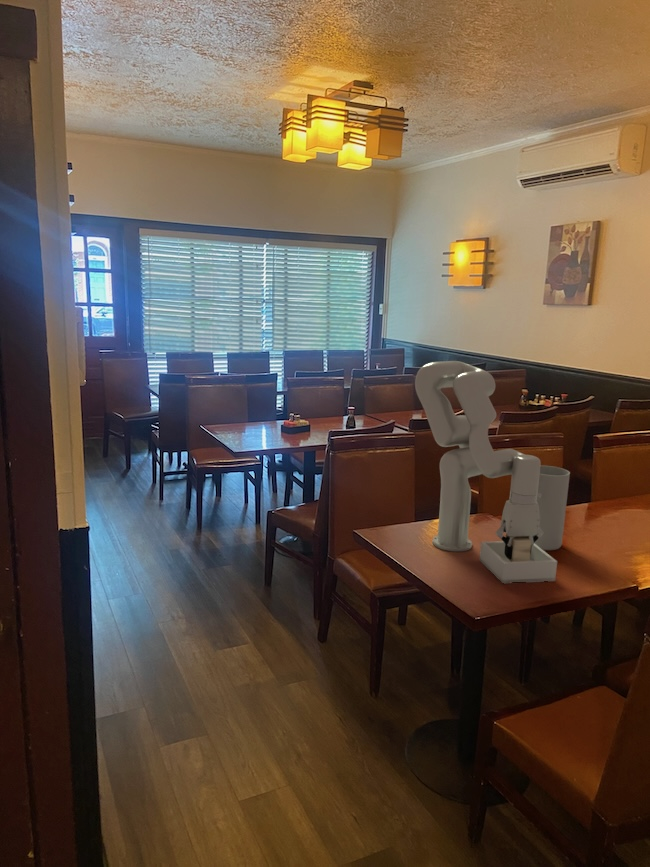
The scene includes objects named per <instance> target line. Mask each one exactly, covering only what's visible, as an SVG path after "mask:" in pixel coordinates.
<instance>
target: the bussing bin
mask: <svg viewBox="0 0 650 867" xmlns="http://www.w3.org/2000/svg"><path fill="white" fill-rule="evenodd" d="M479 552H480V553H479V562H481V564H482V565H483V566H485V568H486V569H487V570H488V571H489V570H490V571H491V572H492V573H493V574H494V575H495V576H496V577H497V578H498V579H499V580H500V581H501V582H502V583H504V584H511V583H510V582H526V583H541V582H543V583H545V582H544V581H548V582H556V576H557V575H556V574H557V568H558V567H557V566H558V560H557V559H555V558H554V557H553V556H551V555H550V554H548V552H546V550H542V549H541V548H540V547H538V546H537V545H536V544H535V543H534V545H533V546H532V548H531V554H530V559H529V561H519V562H511V561H510V560H509V559H507V558H506V557H505V553H504V552H505V543H504V542H503V541H502V540H500V541H499V540H498V541H497V540H495V541H481V542H480V550H479ZM491 572H490V573H491ZM492 573H491V574H492ZM493 574H492V575H493ZM494 575H493V576H494ZM495 576H494V577H495ZM496 577H495V578H496ZM497 578H496V579H497ZM498 579H497V580H498ZM499 580H498V581H499ZM500 581H499V582H500ZM501 582H500V583H501ZM502 583H501V584H502Z"/></svg>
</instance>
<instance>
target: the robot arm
mask: <svg viewBox="0 0 650 867" xmlns="http://www.w3.org/2000/svg"><path fill="white" fill-rule="evenodd" d="M414 386H415V392H416V395H417V397H418V400H419V402H420V403H421V406H422V408H423V410H424V412H425V416H426V419H427V421H428V424H429V427H430V430H431V432H432V436H433V439H434V441H435V442H436V444H437V445H438V446H440V447H443V448H448V447H455V446H456V447H457V446H458V447H459V448H454V449H451V450H449V451H446V452H445V453H444V454H443V455H442V456H441V458H440V461H439V474H440V498H439V501H440V503H439V513H438V514H439V515H438V528H437V529H438V530H437V535H434V537H432V544H433V545H434V546H435V547H436V548H438V549H439V550H440V549H441V550H443V551H449V552H465V551H468V550H470V549H472V546H473V542H472V540H470V539H469V537H468V536H469V526H470V515H471V514H470V513H471V502H472V501H471V500H472V490H471V485H470V483H469V478H472V477H476V476H480V475H483V476H485V477H486V478H489V479H495V478H496V479H497V478H499V477H503V476H509V475H511V480H510V488H509V489H510V490H509V499H508V500H507V499H506V501H505V503H504V507H503V510H502V515H501V516H502V517H501V522H500V526H499V528H498V529H497V530H496V531H495V535H496V536H497V537H498V538H499V539H500V541H503V542H504V543H505V552H504V553H505V556H506V557H507V558H509V559H512V550H513V547H512V542H513V539H514V537H525V536H527V537H528V538H529V539H531V548H532V546H533V545H534V542H535V541H536V540H537V539H538V538H539V537H541V536H542V535H543V534H544V532H543V531H542V529H541V528H540V526H539V519H540V518H539V505H538V503H537V499H538V498H541V494H538V485H539V475H540V466H542V465H541V464H542V463H541V462H542V461H541V459H540V458H539V457H537V456H535V455H531V454H525V453H522V452H520V451H518V450H516V449H513V448H505V449H499V450H494V449H493V446H492V445H491V442H490V440H489V428H490V426H491V424H492V423H493V422H494V420H495V419H496V418H497V412H496V409H495V408H494V406H493V403H492V402H491V399H490V396H492V395H493V394H494V392H495V390H496V382H495V378H494V377H493V375H492V374H491V373H490V372H488V371H486V370H484V369H482V368H480V367H476V366H473V365H471V364H468V363H465V362H463V361H460V360H459V361H458V360H446V361H432V362H429V363H426V364H424V365H422V366H421V367H420V368H419V370H418V371H417V372H416V376H415V380H414ZM446 388H452V389H453V392H454V395H455V396H456V398H457V400H458V403H459V404H460V407H461V409H462V411H463V413H464V415H463V414H462V415H461V414H460V415H456V413H455V412H454V409H453V407H452V403H451V402H450V400H449V399H448V397H447V396H446V395H445V394H444V393H443V391H442V389H446ZM504 533H505V535H503V534H504ZM530 554H531V550H530Z"/></svg>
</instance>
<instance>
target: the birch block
mask: <svg viewBox="0 0 650 867" xmlns="http://www.w3.org/2000/svg"><path fill="white" fill-rule="evenodd" d="M512 547H513V550H512V559H509V558H507V557H506V556H505V557H506V558H507V559H509V560H510V561H511V562H519V561H529V559H530V550H531V539H529V538H528V537H527V536H525V537H514V539H513V542H512Z"/></svg>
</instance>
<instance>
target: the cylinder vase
mask: <svg viewBox="0 0 650 867" xmlns="http://www.w3.org/2000/svg"><path fill="white" fill-rule="evenodd" d="M570 474H571V471H569V470H567V469H565V468H561V467H558V466H553V465H552V466H551V465H541V466H540V475H539V485H538V494H541V498H538V499H537V503H538V505H539V518H540V519H539V526H540V528H541V529H542V531H543V532H544V534H543V535H542V536H541V537H539V538H538V539H537V540H536V541H535V542H534V543H535V544H536V545H537V546H538V547H540V548H541V549H542V550H543V551H555V550H559V549H560V548H561V547H562V544H563V537H564V536H563V535H564V528H565V519H566V509H567V501H568V495H569V494H568V492H569V483H570V476H571V475H570Z"/></svg>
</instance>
